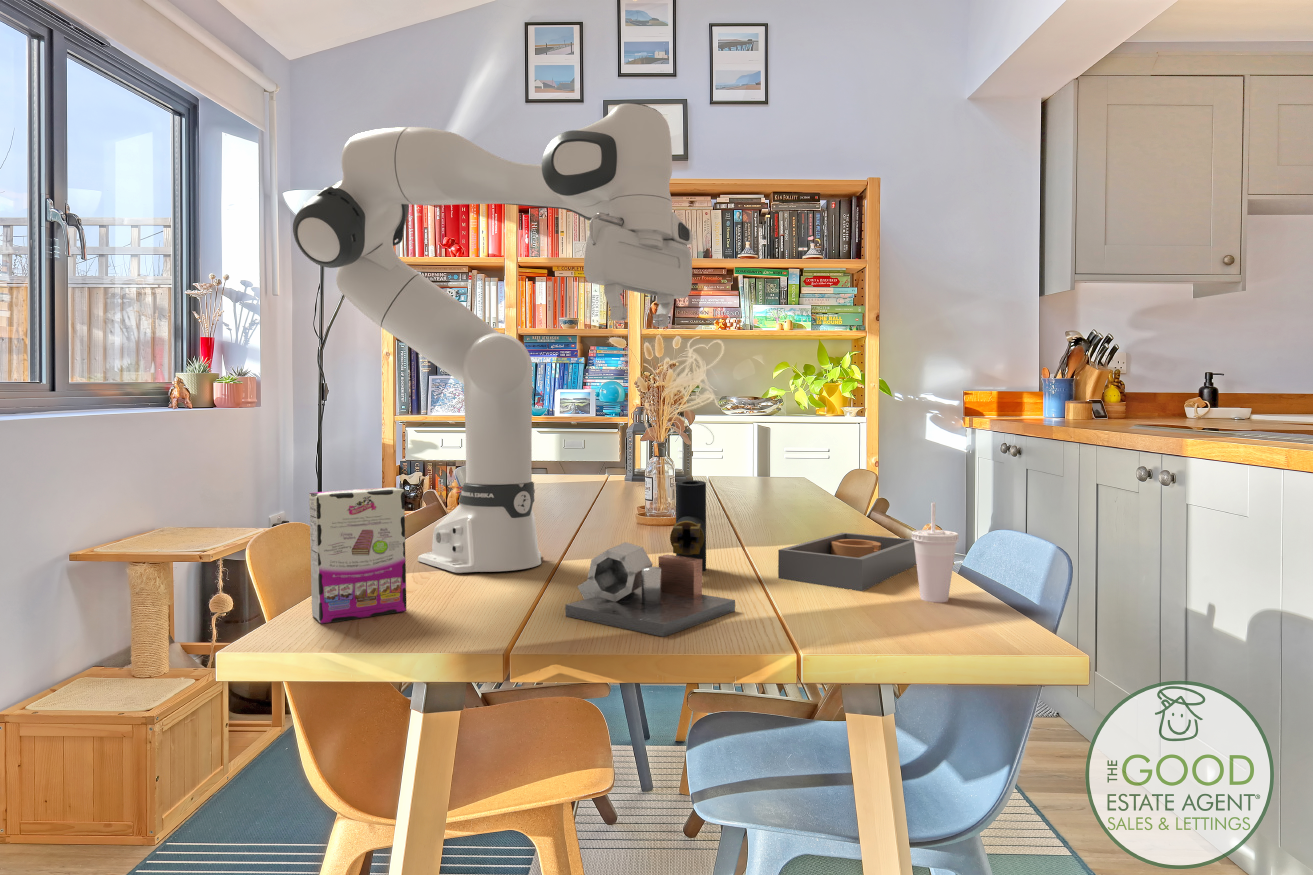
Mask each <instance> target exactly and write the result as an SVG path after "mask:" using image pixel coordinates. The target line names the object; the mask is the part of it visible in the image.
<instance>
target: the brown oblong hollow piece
mask: <svg viewBox="0 0 1313 875" xmlns="http://www.w3.org/2000/svg"><path fill="white" fill-rule="evenodd" d="M880 550H881V543H879V542H875V541H869V540H859V539H840V540H835V541H831V555H839V556H847V557H856V558H860V557H862V556H865V555H868V554H871V553H874V552H877V551H880Z"/></svg>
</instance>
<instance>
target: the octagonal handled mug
mask: <svg viewBox="0 0 1313 875" xmlns="http://www.w3.org/2000/svg"><path fill="white" fill-rule="evenodd" d="M643 567H653V562H652V561H651V559H650V557H649V555H648V554H647V552H646V550H645V548H644V547H643V546H640V545H636V544H632V543H629V542H628V541H627V542H626V541H625V542H622V543H620V544H618V545H615V546H613V547H611V548H608V549H606V550H605V551H604V552H601V553H600V554H599V555H596V556H595V557H593V558H591V561H590V565H589V569H588V574H587V580H586V581H584V582H582V583H580V584H578V585H577V588H578V591H579V593H580V594H581V596H582V597H583V600H585V599H589V598H593V597H596V596H599V597H602V598H605V599H608V600H611V601H614V602H616V601H618V600H619V599H621V598H623V597H624V596H626V595H628V594H629V593H631V592H633V591H635V590H636V589H638V588H640V587H641V586H642V568H643Z"/></svg>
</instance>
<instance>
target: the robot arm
mask: <svg viewBox="0 0 1313 875" xmlns="http://www.w3.org/2000/svg"><path fill="white" fill-rule="evenodd" d="M672 148H673V147H672V136H671V131H670V126H669V122H668V121H667V119H666V118H665V116H664V115H663V114H662V113H661V112H660V111H658V110H657V109H656V108H654V107H653V108H652V107H651V106H649V105H646V104H642V103H637V102H636V103H635V102H626V103H620V104H618V105H616V106H614V107H613V109H612V110H611V111H610V112H609V113H608V114H607V115H606V116H604V117H602V118H601V119H599V120H598V121H596V122H593V123H592V124H590V125H587V126H584V127H581V128H578V129H575V130H567V131H563V132H561V133H559V134H558V135H556V136H555V137H554V138H552V139H551V140H550V142H549V143H548V144H547V146H546V148H545V150H544V152H543V155H542V157H541V158H542V159H541V164H534V163H521V162H515V161H512V160H507V159H504V158H502V157H500V156H497V155H495V154H493V153H491V152H489V151H488V150H486V149H484V148H482V147H481V146H479V145H478V144H475V143H474V142H472V141H470V140H469V139H467V138H465V137H463V136H461V135H460V134H457V133H455V132H452V131H447V130H443V129H438V128H433V127H427V126H424V127H423V126H399V127H385V128H378V129H372V130H368V131H364V132H359V133H357V134H355V135H353V136H351V137H349V139H348V140H347V141H346V143H345V144H344V147H343V148H342V152H341V161H340V162H341V170H342V179H341V180H340V181H338V182H336V183H333V184H332V185H330V186H326V187H324V188H323V189H322V190H320V192H318V193H317V194H316V195H313V196H312V197H311V198H310V199H308V200H307V201H306V203H304V204H303V205H302V206H301V207H300V209H299V211H298V212H297V213H296V215H295V217H294V219H293V223H292V233H293V238H294V240H295V243H296V245H297V247H298V249H299V250H300V252H302V254H303V255H304V256H305V257H306V258H308V259H309V261H311V262H312V263H314V264H316V265H318V266H320V267H324V268H329V269H334V268H335V269H336V268H337V271H336V275H335V277H336V278H335V280H336V281H335V282H336V285H337V288H338V290H339V292H340V293H341V294H342V295H343V297H345V298H346V299H347V300H348V301H349V302H350V303H351V304H352V305H353V306H354V307H355V308H357V309H358V310H359V311H360V312H361V313H362V314H363V315H364V316H366V318H369V320H371V321H372V322H374V323H375V324H376V325H378V327H380V328H382V329H383V330H385V331H386V332H388V333H389V334H390V335H392V336H393V337H395V338H396V339H397V340H399V341H401V342H402V343H403V344H405V345H406V346H407V347H409V348H411V349H412V350H414V352H416V353H418V354H419V355H421V356H422V357H424V358H425V359H426V360H428V361H429V362H431V363H433V364H434V365H435V366H436V367H438V368H440V370H442V371H444V372H445V373H447V374H448V375H449V376H451V377H452V378H454V379H456V380H457V381H458V382H460V383H461V384H463V401H464V404H463V405H464V426H465V482H464V483H463V484H462V486H455V489H458V490H459V489H460V490H459V491H455V494H460V495H459V499H458V503H459V504H458V505H457V506H456V507H455V508H454V509H453V510H452V511H450V513H449V514H448V515H447V516H446V517H445V518H443V519H442V520H441V521H440V522H439V523H438V524H436V526H435V527H434V529H433V534H432V546H431V548H432V549H431V550H432V551H428V552H425V553H422V554H420V555H418V557H417V562H420V563H423V564H426V565H430V566H432V567H437V568H439V569H442V570H446V571H449V572H452V573H457V574H459V573H461V574H463V573H478V572H480V573H483V572H484V573H485V572H486V573H487V572H490V573H491V572H495V573H496V572H509V571H510V572H511V571H518V570H519V571H520V570H526V569H530V568H534V567H537V566H539V565H541V564H542V552H541V551H540V550H539V545H538V536H537V524H536V515H535V513H534V510H533V504H534V502H535V493H536V490H535V483H534V481H532V480H533V479H532V473H533V472H532V467H533V466H532V458H533V456H532V455H533V454H532V442H533V440H532V432H533V431H532V430H533V429H532V424H533V423H532V422H533V420H532V417H533V412H532V411H533V407H532V406H533V363H532V362H533V361H532V358H531V355H530V353H529V351H528V349H527V348H526V346H525V345H524V344H523V343H522V341H520V340H519V339H518V338H516V337H514V336H512V335H509V334H507V333H506V334H505V333H501V332H499V331H498V330H496V329H495V328H493V327H492V326H491V325H490V324H489V323H487V322H486V321H485V320H483V319H482V318H481V317H480V316H478V315H477V314H476V313H474V312H473V311H471V310H470V309H469V308H468V307H467V306H465V305H464V304H463V303H462V302H460V301H459V300H458V299H456V297H454V296H452V295H451V294H449V293H448V292H446V291H445V290H444V289H443V288H441V287H439V286H438V285H436V283H434V282H432V281H431V280H429V279H428V278H427V277H425V276H424V275H423V274H421V273H420V272H419V271H417V270H416V269H414V268H412V267H411V266H409V265H408V264H407V263H406V262H404V260H402V259H401V258H399V256H398V255H397V253H396V250H395V249H394V247H395V246H397V245H399V244H401V243H402V241H403V239H404V231H405V226H406V222H407V219H408V216H409V213H410V212H409V210H410V206H411V205H413V206H416V205H417V206H451V205H454V206H455V205H494V204H495V205H497V204H498V205H511V206H522V207H535V208H546V209H547V208H549V209H557V210H558V209H561V210H566V211H568V212H571V213H574V214H576V215H578V216H579V217H581V218H583V219H585V220H586V221H588V222H589V224H588V230H589V231H588V235H587V237H586V242H585V251H584V259H583V261H584V262H583V275H584V277H585V279H586V281H587V282H588V283H589V284H595V285H600V286H603V288H604V289H603V293H604V297H605V299H606V301H607V304H608V305H609V308H610V311H609V312H610V316H609V317H610V320H612V321H617V322H624V321H627V319H628V314H627V313H628V307H626V306H624V303H623V300H622V295H621V294H623V293H624V292H623V290H625V291H627V292H628V291H629V292H635V293H638V294H644V295H648V296H654V297H656V304H658V307H657V310H656V313H654V314H652V326H653V327H657V328H666V327H668V325H669V315H670V313H671V311H672V309H673V306H674V303H675V300H677V299H684V298H688V296H689V295H690V292H691V291H692V285H693V284H692V282H693V257H692V253H691V249H690V248H689V246H688V245H692V243H693V241H694V240H693V239H694V238H693V237H694V234H693V231H692V230H691V228H690V227H688V226H687V225H686V223H685V222H683V221H682V220H681V219H680V217H679V216H678V215H677V214H676V212H674V211H673V201H672V200H673V199H672V196H671V192H670V191H671V190H670V181H671V178H672V175H673V174H672V173H673V154H672V153H673V149H672Z"/></svg>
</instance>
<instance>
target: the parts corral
mask: <svg viewBox="0 0 1313 875" xmlns="http://www.w3.org/2000/svg"><path fill="white" fill-rule="evenodd" d="M840 539H859V540H869V541H875V542H879V543H881V550H880V551H877V552H874V553H871V554H868V555H865V556H862V557H860V558H856V557H847V556H839V555H831V541H835V540H840ZM777 552H778V557H777V558H778V560H777V561H778V566H777V568H778V569H777V574H778V576H777V578H778V580H779V579H780V580H786V581H793V582H800V583H806V584H811V585H818V586H825V587H831V588H837V587H838V588H837V589H843V588H844V589H845V590H849V589H852V590H851V591H857V592H864V591H866V590H868V589H870V588H873V587H874V586H877V585H878V584H881V583H883V582H885V581H887V580H889V579H891V578H893V577H895V576H897V575H899V574H902V573H903V572H905V571H907V570H909V569H911V568H913V567H915V566H914V565H916V555H915V546H914V540H913V539H912V538H903V537H893V536H892V537H891V536H883V535H881V536H880V535H874V534H873V535H872V534H861V533H850V532H840V533H836V534H832V535H828V536H825V537H820V538H818V539H814V540H810V541H805V542H802V543H798V544H794V545H791V546H787V547H784V548H780V549H778V551H777ZM916 566H917V565H916ZM906 569H907V570H906ZM898 573H899V574H898ZM894 575H895V576H894ZM892 576H893V577H892ZM890 577H891V578H890ZM844 589H843V590H844Z"/></svg>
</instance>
